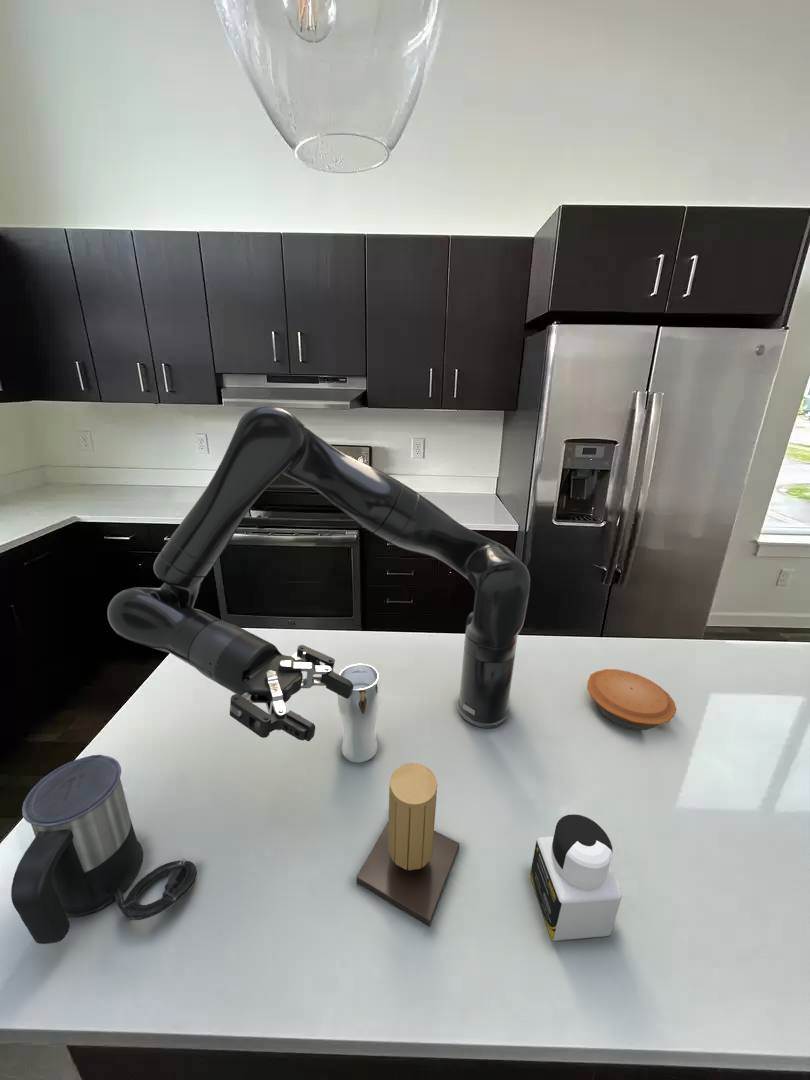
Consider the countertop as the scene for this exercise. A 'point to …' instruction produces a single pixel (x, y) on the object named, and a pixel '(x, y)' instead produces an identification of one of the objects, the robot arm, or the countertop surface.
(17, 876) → the milk frother
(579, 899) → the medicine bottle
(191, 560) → the robot arm
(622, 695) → the pie
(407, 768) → the grooved tan cylinder
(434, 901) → the peg stand
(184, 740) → the countertop surface
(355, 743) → the chrome tumbler
